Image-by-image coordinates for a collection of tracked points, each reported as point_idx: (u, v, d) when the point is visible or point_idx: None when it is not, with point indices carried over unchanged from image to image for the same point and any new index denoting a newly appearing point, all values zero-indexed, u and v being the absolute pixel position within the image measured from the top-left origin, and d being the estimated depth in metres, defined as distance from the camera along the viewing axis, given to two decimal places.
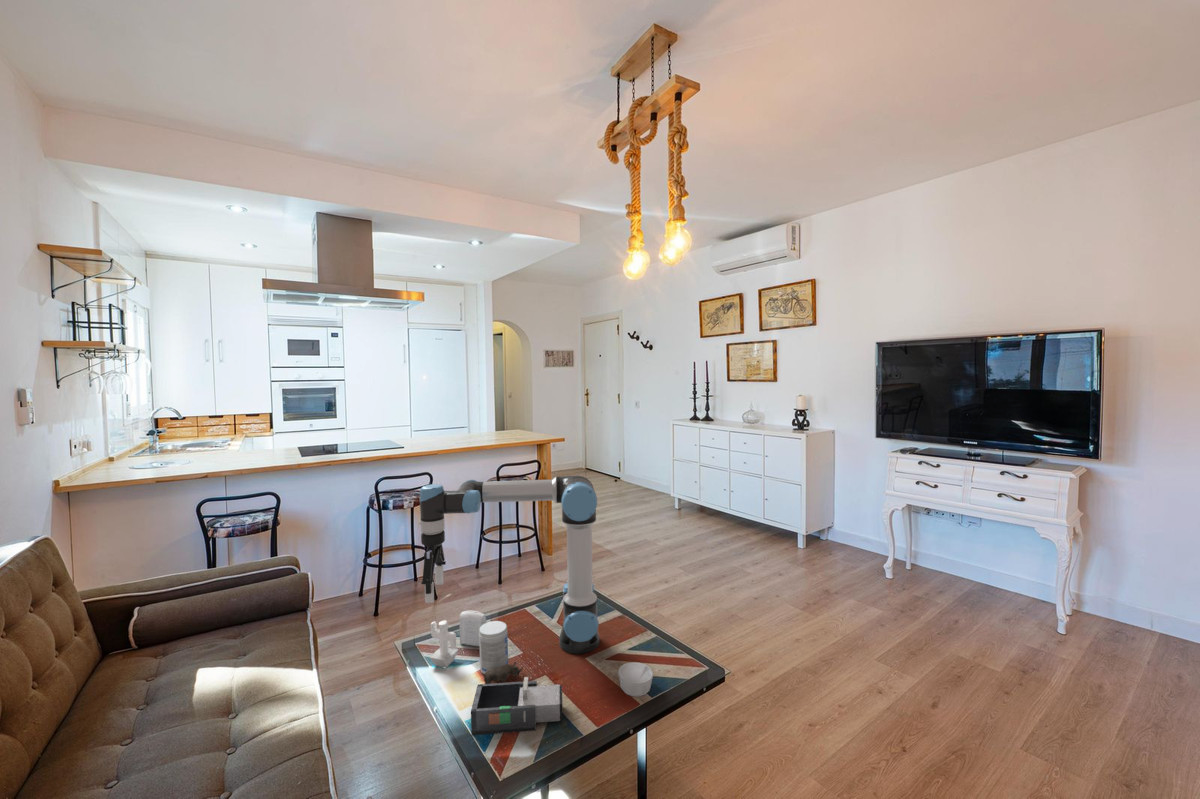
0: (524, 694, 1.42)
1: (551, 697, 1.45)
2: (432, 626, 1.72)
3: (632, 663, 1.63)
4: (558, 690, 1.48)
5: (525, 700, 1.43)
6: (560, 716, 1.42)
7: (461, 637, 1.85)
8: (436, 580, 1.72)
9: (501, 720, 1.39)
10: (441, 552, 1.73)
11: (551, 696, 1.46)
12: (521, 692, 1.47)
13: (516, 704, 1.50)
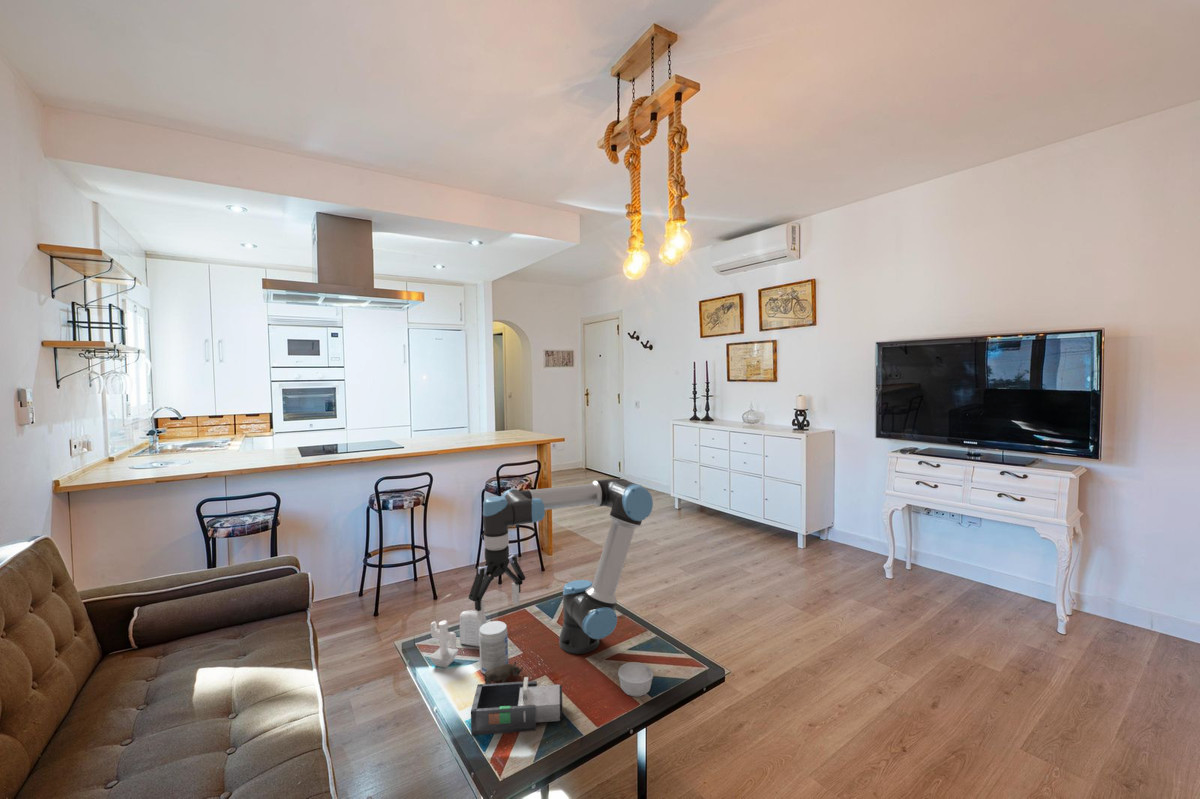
0: (524, 694, 1.42)
1: (551, 697, 1.45)
2: (432, 626, 1.72)
3: (632, 663, 1.63)
4: (558, 690, 1.48)
5: (525, 700, 1.43)
6: (560, 716, 1.42)
7: (461, 637, 1.85)
8: (513, 598, 1.62)
9: (501, 720, 1.39)
10: (517, 570, 1.61)
11: (551, 696, 1.46)
12: (521, 692, 1.47)
13: (516, 704, 1.50)
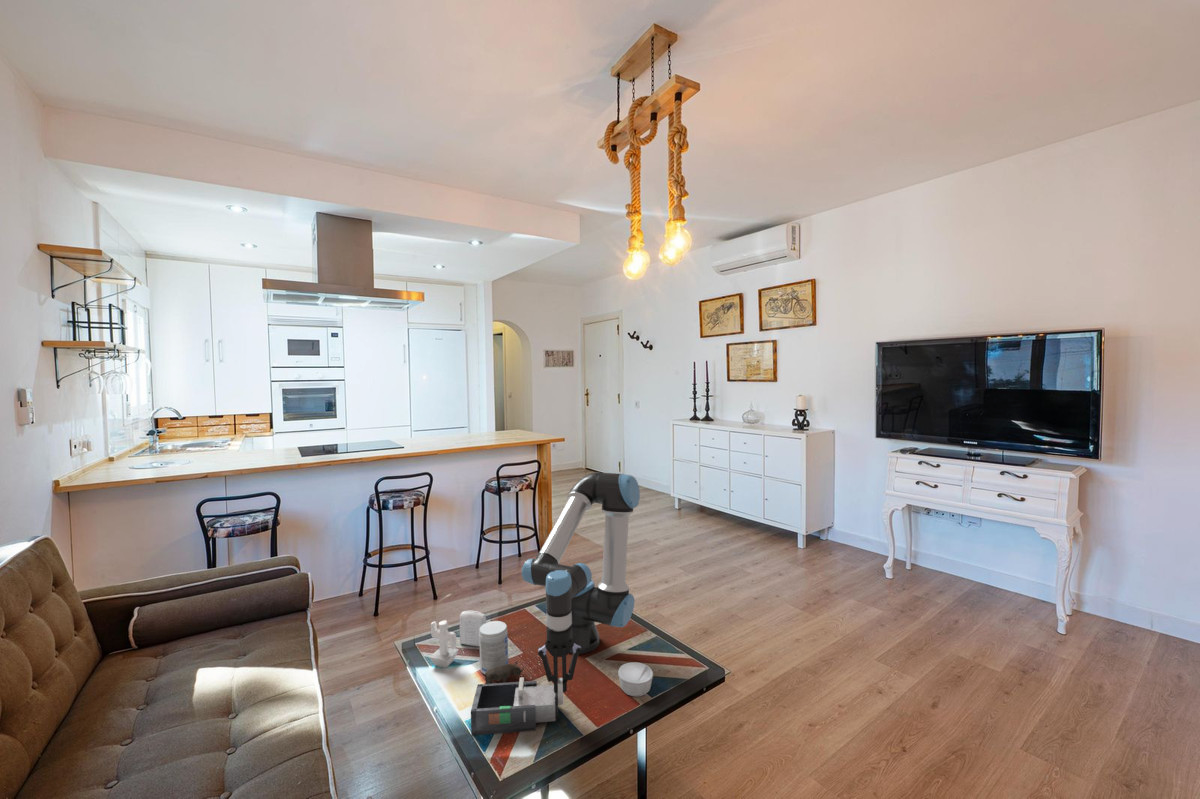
0: (519, 694, 1.42)
1: (547, 697, 1.45)
2: (432, 626, 1.72)
3: (632, 663, 1.63)
4: None
5: (520, 700, 1.42)
6: (555, 716, 1.42)
7: (461, 637, 1.85)
8: None
9: (501, 720, 1.39)
10: (571, 664, 1.45)
11: (546, 696, 1.45)
12: (517, 692, 1.47)
13: None
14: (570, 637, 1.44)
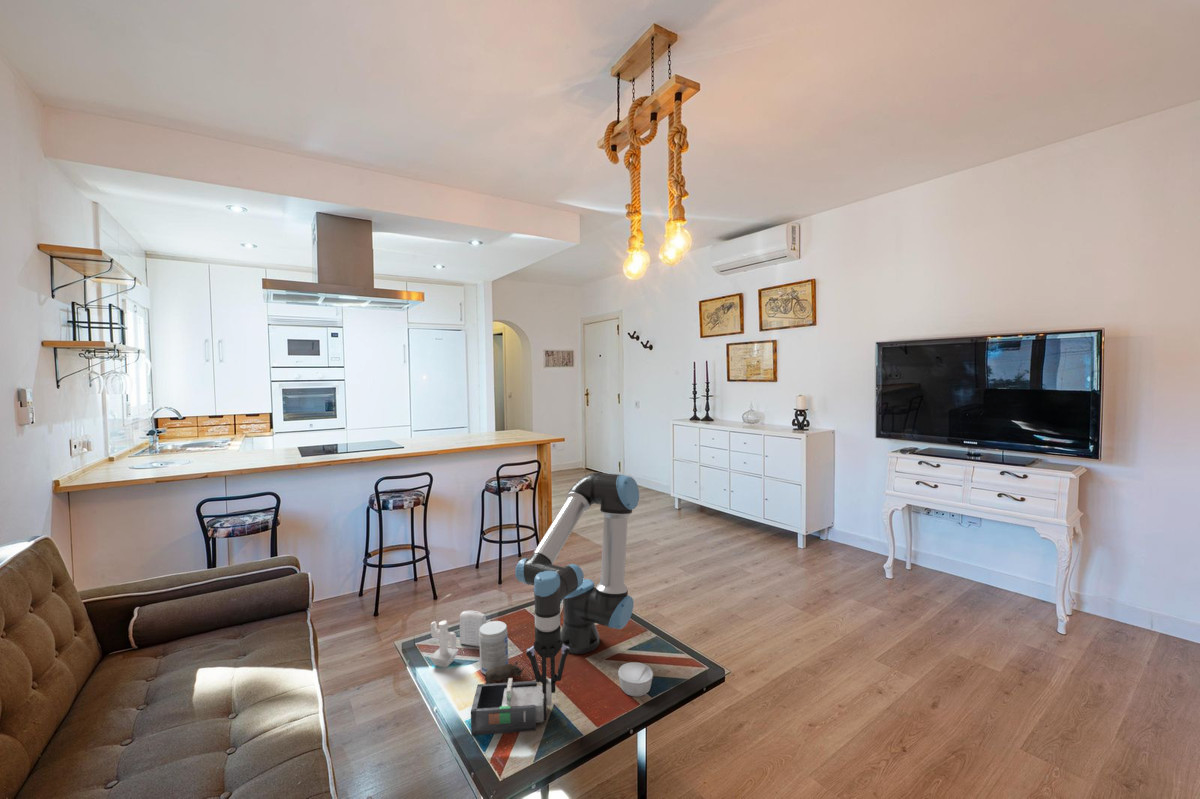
0: (508, 695, 1.42)
1: (535, 698, 1.45)
2: (432, 626, 1.72)
3: (632, 663, 1.63)
4: None
5: (509, 701, 1.42)
6: (544, 717, 1.42)
7: (461, 637, 1.85)
8: None
9: (501, 720, 1.39)
10: (560, 665, 1.45)
11: (535, 697, 1.45)
12: (505, 693, 1.47)
13: None
14: (558, 638, 1.44)
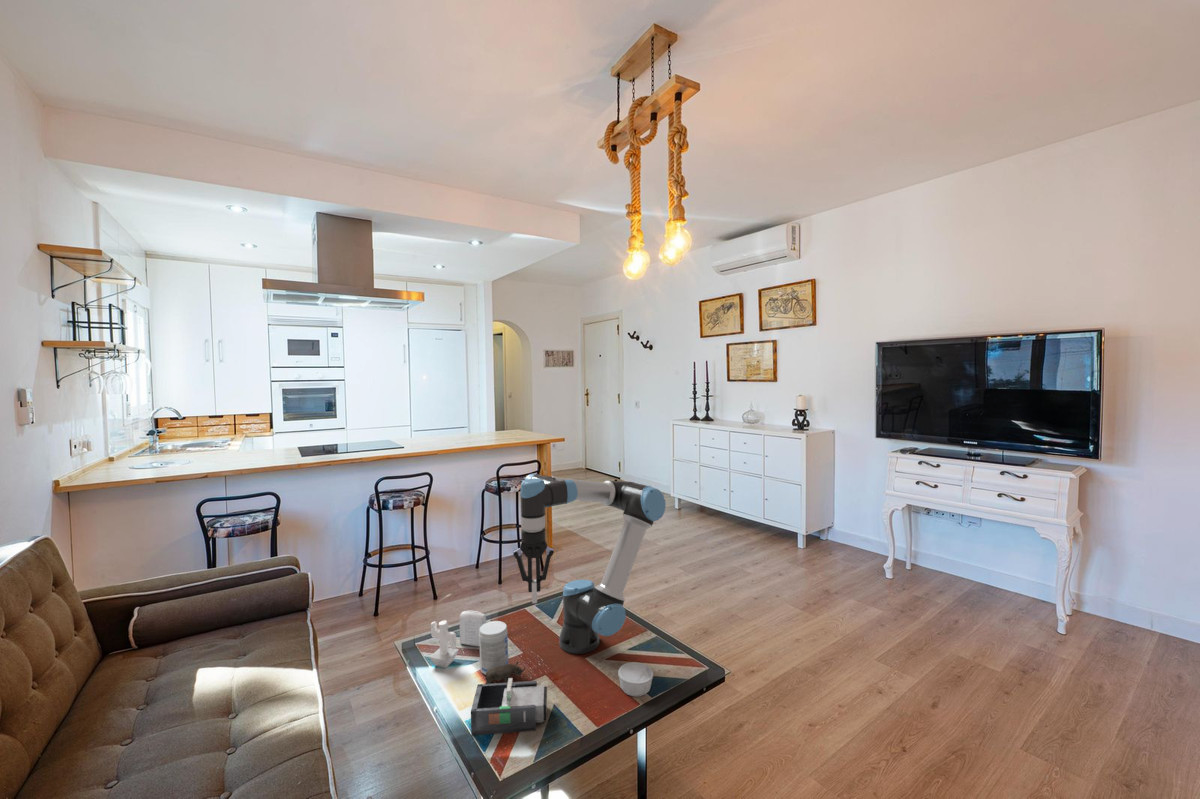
0: (508, 695, 1.42)
1: (535, 698, 1.45)
2: (432, 626, 1.72)
3: (632, 663, 1.63)
4: (542, 691, 1.48)
5: (509, 701, 1.42)
6: (544, 717, 1.42)
7: (461, 637, 1.85)
8: None
9: (501, 720, 1.39)
10: (544, 565, 1.55)
11: (535, 697, 1.45)
12: (505, 693, 1.47)
13: None
14: (543, 539, 1.54)
